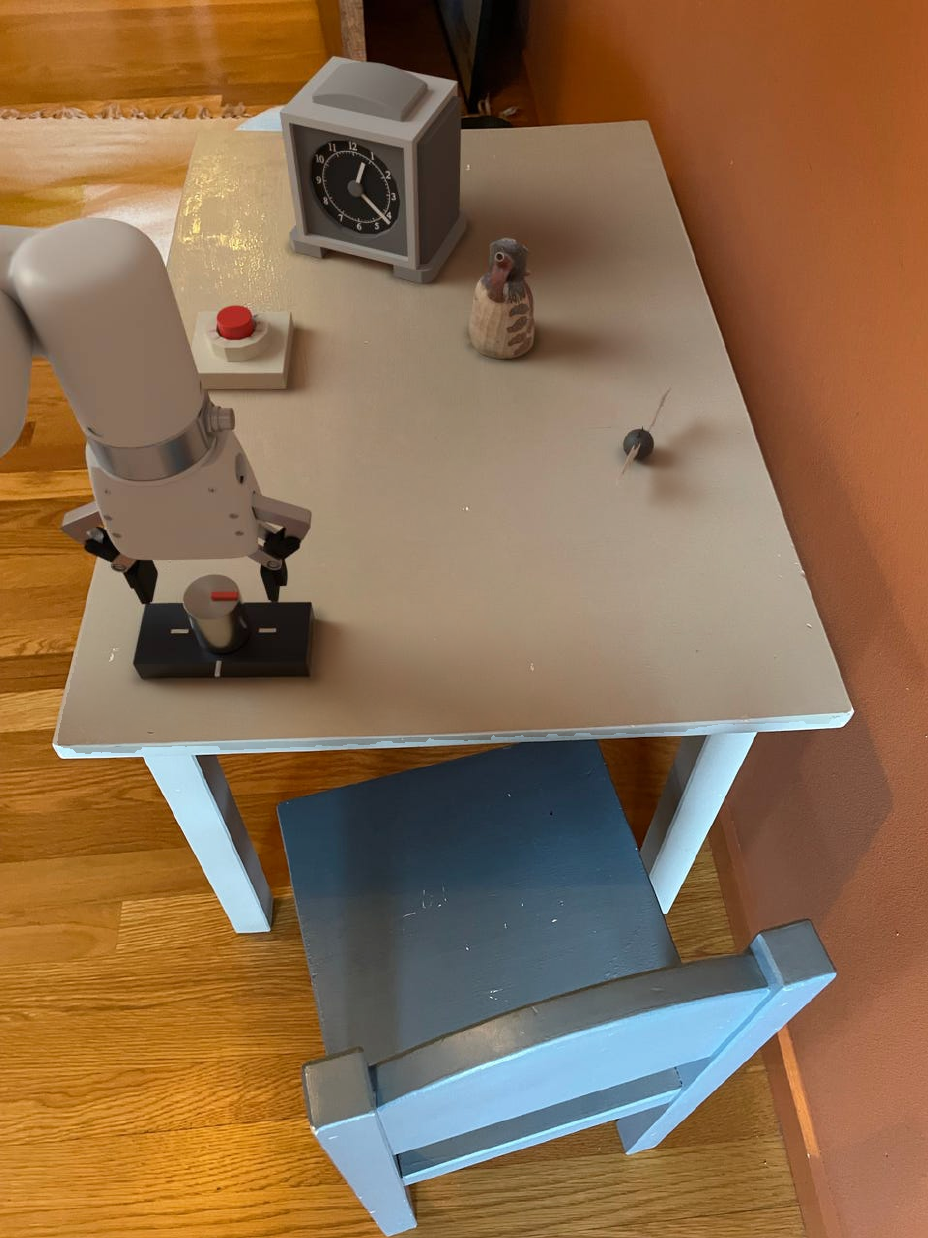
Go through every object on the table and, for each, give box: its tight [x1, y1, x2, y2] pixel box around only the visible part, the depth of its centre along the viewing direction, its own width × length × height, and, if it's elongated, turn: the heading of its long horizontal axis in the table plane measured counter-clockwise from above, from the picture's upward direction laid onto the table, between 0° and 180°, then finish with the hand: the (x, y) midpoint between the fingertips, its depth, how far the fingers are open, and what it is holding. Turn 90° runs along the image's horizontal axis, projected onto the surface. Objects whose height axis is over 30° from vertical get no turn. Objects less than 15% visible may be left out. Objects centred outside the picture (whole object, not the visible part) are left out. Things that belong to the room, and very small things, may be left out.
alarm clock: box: [279, 55, 467, 284], centre depth 103 cm, size 18×13×18 cm
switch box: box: [190, 306, 295, 390], centre depth 96 cm, size 10×10×4 cm
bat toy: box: [615, 387, 672, 486], centre depth 89 cm, size 3×15×5 cm, turn 153°
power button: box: [217, 304, 255, 340], centre depth 94 cm, size 4×4×2 cm
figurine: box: [468, 237, 536, 360], centre depth 95 cm, size 7×7×12 cm
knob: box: [182, 574, 251, 654], centre depth 73 cm, size 4×4×5 cm
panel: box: [132, 601, 316, 680], centre depth 76 cm, size 14×9×3 cm, turn 91°
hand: (213, 588), depth 70 cm, fingers open, 9 cm apart
